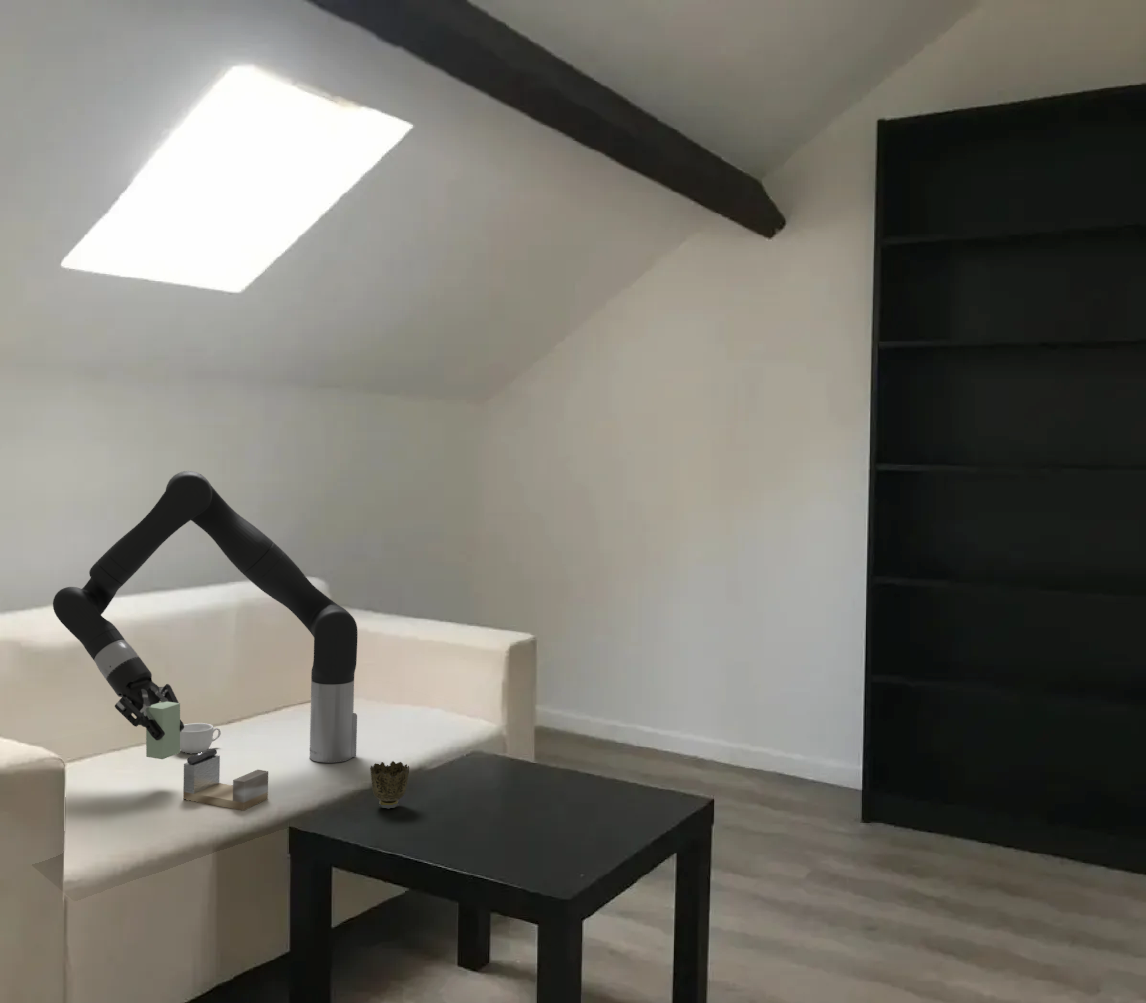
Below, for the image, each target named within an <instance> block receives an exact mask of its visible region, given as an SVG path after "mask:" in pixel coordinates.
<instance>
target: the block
mask: <svg viewBox="0 0 1146 1003" xmlns="http://www.w3.org/2000/svg"><path fill="white" fill-rule="evenodd" d="M149 711H150V713H151V714H152V716H153V719H152V720H154V719H155V720H156V722H157V723H158V724H159V726H160V727H161V729H162V730H163V731H164V732H165V735H164V736H163V737H162V738H161V739H160V740H155V739H154V738H153V737H152V736H151V734H150V733H149V732H148V730H147V729H146V728H145V733H146V734H145V735H146V737H145V738H146V744H145V745H146V746H145V749H146V752H145V754H146V757H147V758H153V759H158V760H165V759H167V758H170V757H173V756H175V755H178V754H180V753H181V750H180V720H181V703H180V702H179V703H174V702H161V701H160V702H159V703H157V704H153V705H151V707H149Z"/></svg>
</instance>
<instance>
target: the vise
mask: <svg viewBox="0 0 1146 1003" xmlns="http://www.w3.org/2000/svg"><path fill="white" fill-rule="evenodd" d="M182 799H186V800H185V801H189V800H191V801H190V802H194V801H196V803H200V804H206V805H210V806H211V805H212V806H217V807H222V808H229V809H232V810H233V809H234V810H239V811H246V810H248V809H250V808H252V807H254V806H256V805H258V804H260V803H263V802H265V801H267V800H268V799H269V770H263V769H256V770H253V771H250V772H248V773H247V774H244V775H242V776H239V777H237V778H234V779H233V780H232V785H231V784H228V783H221V782H219V783H218V784H216V785H214V786H211V787H209V788H206V789H204V790H202V791H199V792H197V793H195V794H193V793H187V792H183V797H182Z"/></svg>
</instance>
